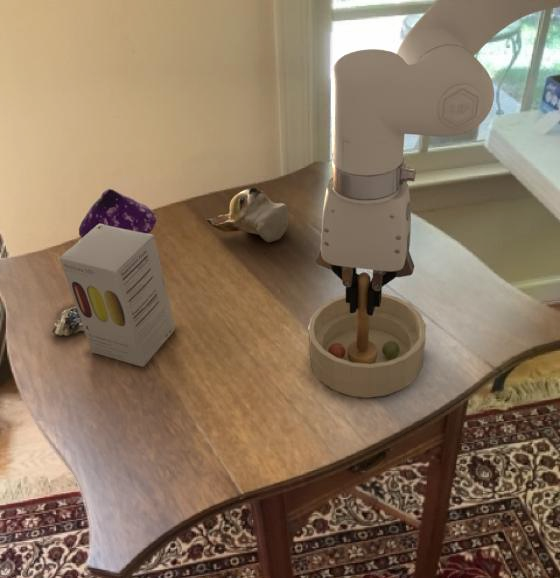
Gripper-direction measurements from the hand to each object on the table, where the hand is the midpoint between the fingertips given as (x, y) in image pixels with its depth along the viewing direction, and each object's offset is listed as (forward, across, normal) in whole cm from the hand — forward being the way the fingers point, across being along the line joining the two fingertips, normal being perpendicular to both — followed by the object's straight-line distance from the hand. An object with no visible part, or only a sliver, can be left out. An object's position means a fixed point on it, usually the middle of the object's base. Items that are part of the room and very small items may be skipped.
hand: (363, 307), depth 84 cm
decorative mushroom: (+10, +43, -14) cm, 46 cm away
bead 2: (+8, -4, -2) cm, 9 cm away
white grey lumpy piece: (+10, +45, +1) cm, 47 cm away
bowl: (+10, 0, -1) cm, 10 cm away
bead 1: (+8, +4, 0) cm, 9 cm away
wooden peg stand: (+9, 0, 0) cm, 9 cm away
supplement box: (+10, +34, +3) cm, 35 cm away
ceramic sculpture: (+10, +26, -30) cm, 40 cm away
